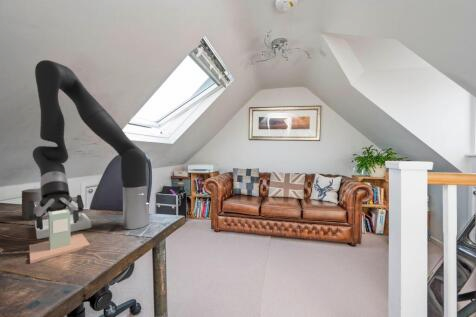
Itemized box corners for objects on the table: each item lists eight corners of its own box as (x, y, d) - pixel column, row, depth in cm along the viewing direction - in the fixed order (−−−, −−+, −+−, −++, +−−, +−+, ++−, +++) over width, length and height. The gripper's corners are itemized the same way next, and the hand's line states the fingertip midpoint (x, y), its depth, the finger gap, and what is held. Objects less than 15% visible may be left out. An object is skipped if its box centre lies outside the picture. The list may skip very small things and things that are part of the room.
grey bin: (83, 220, 95) (83, 212, 95) (91, 229, 84) (91, 220, 84) (35, 229, 83) (35, 221, 83) (37, 241, 72) (36, 231, 72)
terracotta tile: (81, 235, 77) (81, 233, 77) (90, 246, 68) (90, 244, 68) (29, 247, 67) (29, 245, 67) (30, 263, 58) (30, 260, 58)
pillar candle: (15, 221, 93) (15, 189, 93) (32, 214, 103) (32, 185, 102) (40, 220, 95) (40, 188, 95) (54, 214, 105) (54, 185, 104)
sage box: (49, 245, 67) (48, 211, 67) (68, 240, 71) (67, 208, 71) (50, 250, 64) (49, 215, 64) (70, 244, 68) (70, 211, 67)
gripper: (26, 182, 68) (28, 224, 60) (80, 178, 78) (87, 214, 70) (27, 195, 71) (28, 237, 64) (77, 190, 82) (84, 225, 74)
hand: (59, 225), depth 67 cm, fingers open, 8 cm apart
